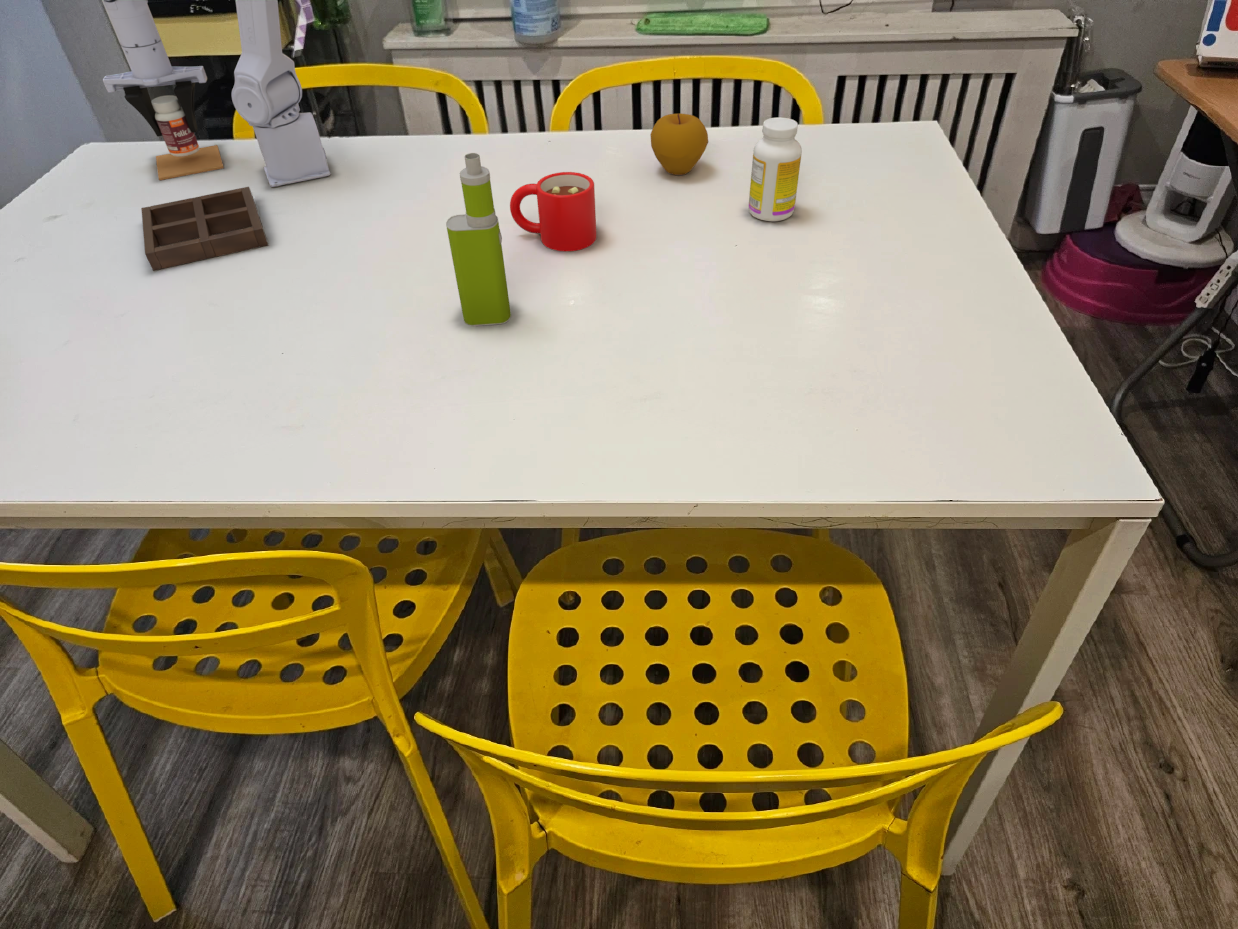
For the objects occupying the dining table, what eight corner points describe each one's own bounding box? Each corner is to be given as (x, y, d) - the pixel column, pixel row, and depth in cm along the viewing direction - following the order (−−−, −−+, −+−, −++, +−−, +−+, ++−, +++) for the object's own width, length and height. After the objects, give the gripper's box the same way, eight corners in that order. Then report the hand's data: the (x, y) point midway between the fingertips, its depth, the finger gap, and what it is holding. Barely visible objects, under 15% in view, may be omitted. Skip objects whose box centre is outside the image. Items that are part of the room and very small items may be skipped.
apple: (703, 158, 131) (706, 102, 124) (709, 182, 124) (713, 123, 118) (648, 160, 130) (648, 104, 124) (652, 184, 124) (652, 125, 118)
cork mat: (218, 146, 139) (217, 144, 138) (223, 168, 132) (223, 165, 132) (156, 158, 136) (155, 155, 135) (159, 180, 129) (158, 178, 129)
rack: (254, 202, 122) (248, 186, 121) (268, 245, 112) (262, 228, 111) (148, 224, 118) (141, 207, 116) (153, 270, 108) (144, 253, 106)
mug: (518, 223, 116) (511, 170, 110) (599, 224, 115) (597, 171, 109) (507, 249, 110) (500, 195, 105) (593, 252, 109) (590, 197, 104)
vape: (512, 323, 97) (490, 161, 83) (462, 326, 96) (432, 165, 83) (512, 306, 99) (491, 147, 86) (464, 309, 99) (435, 151, 85)
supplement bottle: (798, 206, 117) (811, 118, 108) (786, 226, 113) (798, 135, 104) (755, 199, 119) (764, 111, 111) (741, 218, 115) (749, 128, 106)
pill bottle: (185, 158, 130) (164, 106, 124) (163, 154, 132) (141, 102, 126) (206, 147, 133) (186, 95, 127) (185, 144, 135) (164, 92, 129)
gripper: (83, 54, 117) (125, 146, 126) (187, 44, 119) (221, 135, 129) (94, 40, 122) (133, 130, 131) (193, 31, 124) (225, 120, 134)
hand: (177, 132), depth 130 cm, fingers closed on pill bottle, 5 cm apart
